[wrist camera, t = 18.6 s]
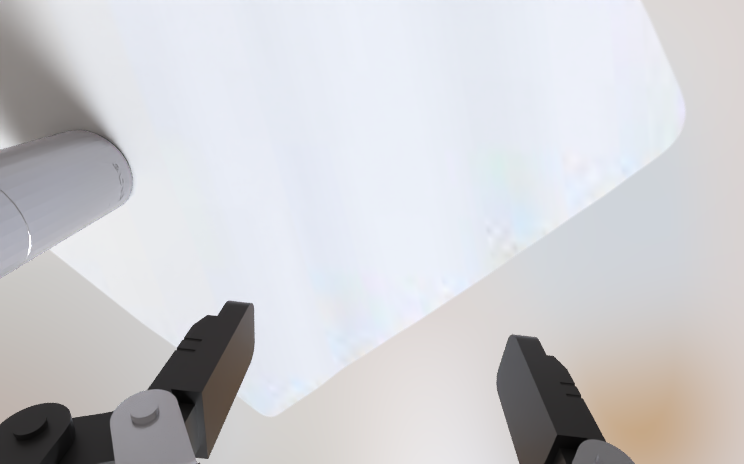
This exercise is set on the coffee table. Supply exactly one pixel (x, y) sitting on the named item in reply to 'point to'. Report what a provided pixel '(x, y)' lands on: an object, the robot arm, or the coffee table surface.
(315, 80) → the coffee table surface
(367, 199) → the coffee table surface
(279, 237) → the coffee table surface
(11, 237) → the robot arm
